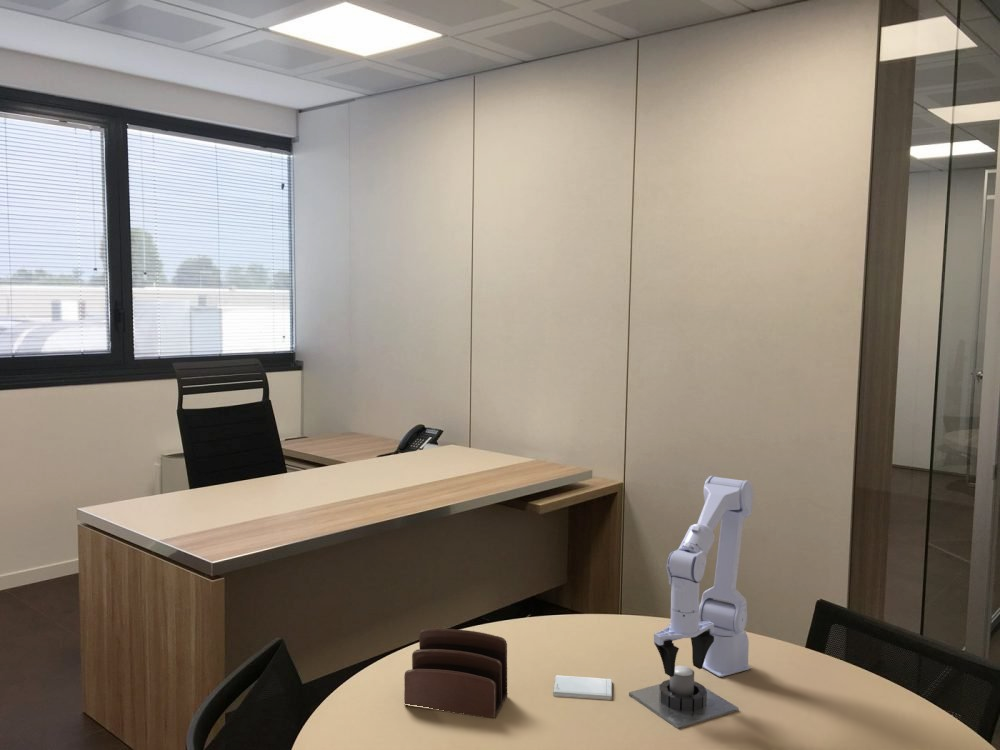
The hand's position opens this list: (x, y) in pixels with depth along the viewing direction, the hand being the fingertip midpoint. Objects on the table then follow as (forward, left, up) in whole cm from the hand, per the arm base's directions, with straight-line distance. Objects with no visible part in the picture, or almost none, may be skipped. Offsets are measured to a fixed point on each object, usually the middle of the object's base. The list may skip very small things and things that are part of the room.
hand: (683, 670), depth 174 cm
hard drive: (+15, -15, -8) cm, 23 cm away
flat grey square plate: (0, 0, -7) cm, 7 cm away
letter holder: (+42, -22, -7) cm, 48 cm away
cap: (0, 0, -6) cm, 6 cm away
